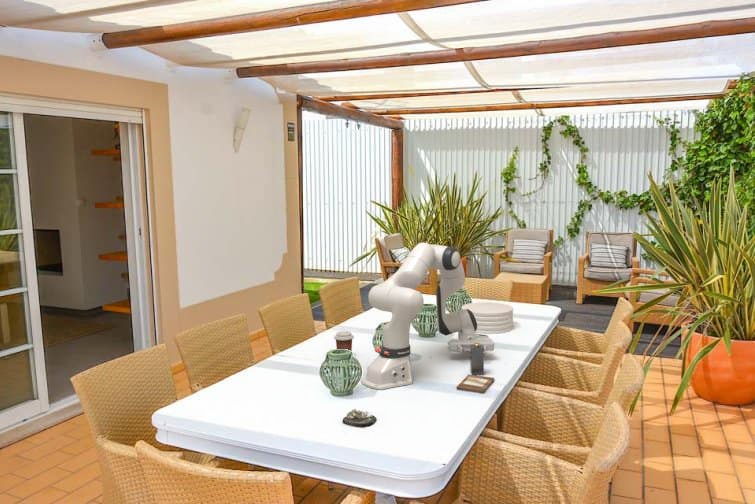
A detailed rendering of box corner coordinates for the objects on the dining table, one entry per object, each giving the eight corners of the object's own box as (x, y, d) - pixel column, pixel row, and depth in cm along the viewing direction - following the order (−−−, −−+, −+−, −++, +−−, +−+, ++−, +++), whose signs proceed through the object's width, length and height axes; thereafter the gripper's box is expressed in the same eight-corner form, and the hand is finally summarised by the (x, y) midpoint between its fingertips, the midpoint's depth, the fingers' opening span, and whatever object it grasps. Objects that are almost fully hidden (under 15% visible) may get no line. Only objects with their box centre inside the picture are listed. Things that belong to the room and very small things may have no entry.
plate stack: (502, 336, 311) (502, 315, 309) (453, 330, 325) (453, 309, 324) (519, 325, 334) (519, 305, 333) (473, 319, 349) (473, 300, 347)
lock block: (471, 375, 251) (471, 345, 249) (470, 371, 256) (470, 342, 254) (483, 375, 250) (483, 345, 249) (482, 371, 255) (482, 342, 254)
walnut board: (483, 393, 229) (483, 390, 229) (456, 389, 234) (456, 386, 234) (494, 380, 244) (494, 377, 244) (468, 377, 248) (468, 373, 248)
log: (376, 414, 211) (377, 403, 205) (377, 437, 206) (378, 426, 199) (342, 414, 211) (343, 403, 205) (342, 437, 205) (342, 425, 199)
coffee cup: (341, 353, 284) (340, 329, 283) (357, 356, 280) (357, 331, 278) (330, 359, 276) (330, 334, 275) (347, 361, 272) (347, 336, 271)
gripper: (447, 335, 278) (449, 343, 264) (491, 335, 277) (496, 343, 263) (447, 348, 279) (449, 357, 265) (491, 348, 278) (496, 357, 264)
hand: (473, 350), depth 264 cm, fingers open, 8 cm apart
